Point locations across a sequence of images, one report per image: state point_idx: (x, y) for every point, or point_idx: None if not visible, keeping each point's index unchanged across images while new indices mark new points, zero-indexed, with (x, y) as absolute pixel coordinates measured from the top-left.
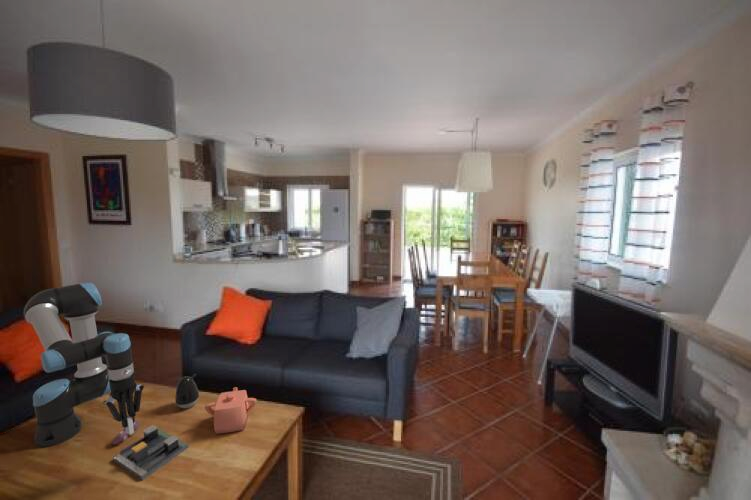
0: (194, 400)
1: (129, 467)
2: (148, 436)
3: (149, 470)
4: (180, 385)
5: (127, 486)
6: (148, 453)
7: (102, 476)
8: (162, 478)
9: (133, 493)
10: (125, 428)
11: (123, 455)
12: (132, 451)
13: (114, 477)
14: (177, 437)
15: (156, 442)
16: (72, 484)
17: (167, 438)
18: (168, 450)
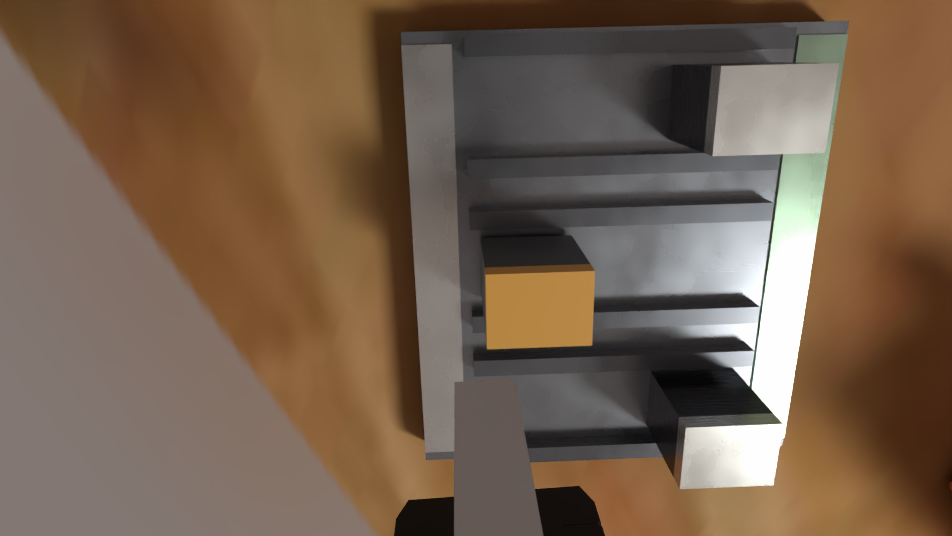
0: None
1: (420, 301)
2: (697, 148)
3: None
4: None
5: (348, 411)
6: None
7: (278, 153)
8: None
9: (345, 493)
10: (454, 436)
11: (464, 98)
12: (484, 275)
13: (329, 250)
14: (773, 482)
15: (694, 221)
16: (93, 19)
17: (772, 240)
18: (658, 445)
